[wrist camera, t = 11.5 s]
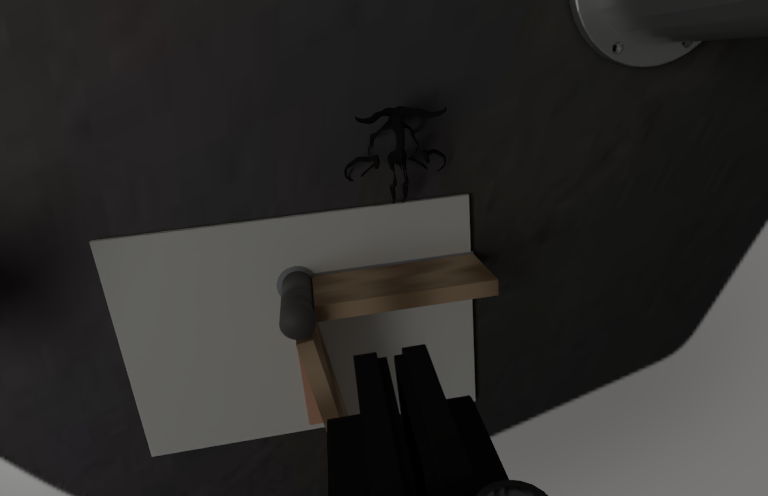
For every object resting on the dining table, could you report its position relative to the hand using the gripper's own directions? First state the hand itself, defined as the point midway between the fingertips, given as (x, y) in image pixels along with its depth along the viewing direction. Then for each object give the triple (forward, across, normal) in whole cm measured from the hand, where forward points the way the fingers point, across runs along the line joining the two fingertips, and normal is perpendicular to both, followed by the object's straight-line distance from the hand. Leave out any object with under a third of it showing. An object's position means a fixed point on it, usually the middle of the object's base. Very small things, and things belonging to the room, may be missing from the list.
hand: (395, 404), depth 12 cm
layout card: (+28, +5, +13) cm, 31 cm away
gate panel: (+27, +4, +16) cm, 32 cm away
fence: (+28, -2, +9) cm, 30 cm away
